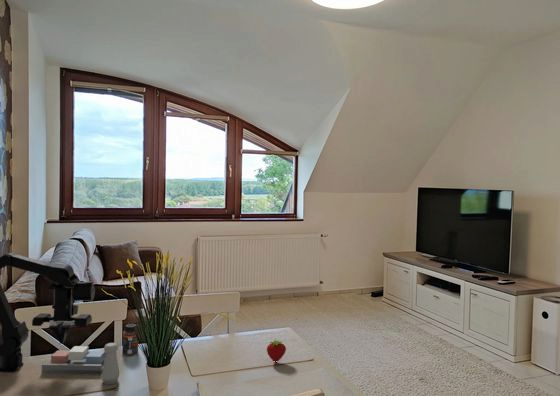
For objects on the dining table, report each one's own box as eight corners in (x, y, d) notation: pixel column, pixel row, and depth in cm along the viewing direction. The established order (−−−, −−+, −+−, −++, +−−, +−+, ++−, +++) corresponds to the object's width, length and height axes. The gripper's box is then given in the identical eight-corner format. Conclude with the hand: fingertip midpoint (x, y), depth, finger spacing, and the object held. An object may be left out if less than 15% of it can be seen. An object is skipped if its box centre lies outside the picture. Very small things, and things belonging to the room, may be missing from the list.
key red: (50, 364, 151) (51, 355, 151) (57, 358, 156) (57, 350, 156) (65, 364, 152) (65, 356, 151) (71, 358, 156) (71, 350, 156)
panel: (41, 373, 148) (41, 364, 148) (57, 359, 160) (57, 350, 160) (100, 374, 149) (100, 365, 149) (112, 359, 161) (112, 351, 161)
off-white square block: (68, 359, 151) (68, 351, 151) (74, 354, 156) (74, 346, 156) (82, 360, 152) (82, 351, 152) (88, 354, 157) (88, 346, 157)
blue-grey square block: (85, 364, 152) (85, 356, 152) (90, 358, 157) (91, 350, 157) (99, 365, 152) (100, 356, 152) (104, 359, 157) (105, 351, 157)
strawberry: (287, 365, 163) (288, 339, 162) (267, 366, 161) (269, 340, 160) (283, 358, 168) (284, 334, 168) (264, 360, 166) (265, 335, 166)
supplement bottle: (133, 357, 164) (134, 328, 163) (119, 355, 165) (119, 327, 164) (140, 351, 170) (141, 323, 169) (127, 349, 171) (127, 322, 170)
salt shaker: (112, 387, 141) (113, 348, 140) (97, 384, 142) (98, 346, 141) (122, 379, 146) (123, 342, 146) (107, 376, 148) (108, 340, 147)
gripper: (97, 295, 161) (97, 335, 162) (47, 293, 160) (46, 334, 161) (86, 303, 150) (85, 347, 151) (31, 302, 149) (31, 346, 150)
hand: (62, 343), depth 154 cm, fingers closed
